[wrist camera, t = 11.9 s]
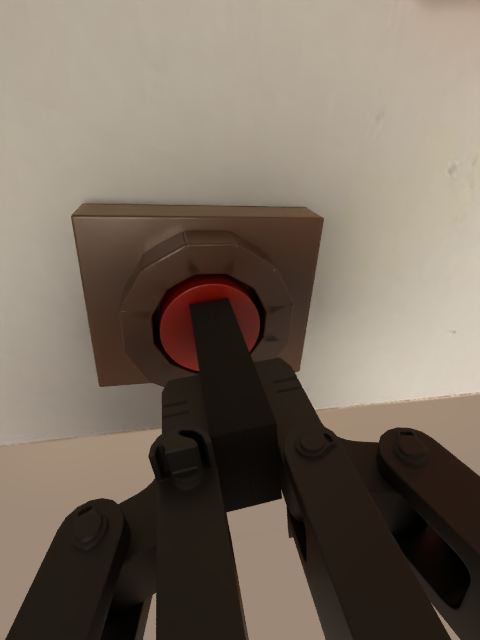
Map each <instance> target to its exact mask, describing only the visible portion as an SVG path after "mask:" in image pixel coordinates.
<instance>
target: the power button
mask: <svg viewBox="0 0 480 640" xmlns="http://www.w3.org/2000/svg"><path fill="white" fill-rule="evenodd" d="M224 298H229V301H230V303H231V306H232V308H233V311H234V313H235V316H236V319H237V321H238V324H239V326H240V329H241V332H242V334H243V337H244V339H245V342H246V345H247V347H248V350H249V352H250V351H251V349H252V348H253V346H254V345H255V343H256V340H257V338H258V335H259V330H260V319H259V314H258V311H257V309H256V306H255V304H254V303H253V301H252V299H251V297H250V295H249V293H248V291H247V289H246V288H245V286H244V285H243V283H242V282H241V281H239V280H237V279H235V278H233V277H231V276H230V275H228V274H196V275H193V276H191V277H189V278H188V279H186V280H184V281H182V282H181V283H179V284H177V285H175V286H173V287H172V288H170V289H168V290H167V291H166V293H165V295H164V296H163V298H162V300H161V303H160V339H161V342H162V345H163V347H164V349H165V351H166V352H167V354H168V355H169V356H170V357H171V358H172V359H173V360H174V361H176V362H177V363H178V364H180V365H182V366H184V367H186V368H189V369H192V370H197V371H199V365H198V359H197V352H196V346H195V340H194V333H193V327H192V320H191V314H190V308H189V305H190V304H196V303H201V302H207V301H213V300H218V299H224Z"/></svg>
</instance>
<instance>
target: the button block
mask: <svg viewBox="0 0 480 640" xmlns="http://www.w3.org/2000/svg"><path fill="white" fill-rule="evenodd" d="M71 219H72V225H73V231H74V237H75V243H76V249H77V255H78V261H79V267H80V273H81V279H82V286H83V292H84V298H85V304H86V310H87V316H88V322H89V328H90V334H91V340H92V346H93V352H94V358H95V364H96V370H97V376H98V382H99V386H100V387H104V386H117V385H130V384H143V383H155V384H158V385H161V386H163V387H165V386H166V384H167V383H168V381H169V380H174V379H179V378H184V377H189V376H194V375H199V374H200V371H197V370H192V369H189V368H186V367H184V366H182V365H180V364H178V363H177V362H176V361H174V360H173V359H172V358H171V357H170V356H169V355H168V354H167V352H166V351H165V349H164V347H163V345H162V342H161V339H160V303H161V300H162V298H163V296H164V295H165V293H166V291H167V290H168V289H170V288H172V287H173V286H175V285H177V284H179V283H181V282H182V281H184V280H186V279H188V278H189V277H191V276H193V275H196V274H228V275H230V276H231V277H233V278H235V279H237V280H239V281H241V282H242V283H243V285H244V286H245V288H246V289H247V291H248V293H249V295H250V297H251V299H252V301H253V303H254V304H255V306H256V309H257V311H258V314H259V319H260V330H259V335H258V338H257V340H256V343H255V345H254V346H253V348H252V349H251V351H250V355H251V358H252V360H253V362H258V361H263V360H268V359H273V358H278V357H280V358H281V359H283V360H284V361H285V362H287V363H288V364H289V365H291V367H292V369H293V370H294V372H298V371H299V370H300V364H301V358H302V352H303V346H304V339H305V333H306V327H307V321H308V315H309V308H310V302H311V296H312V290H313V283H314V277H315V271H316V265H317V259H318V252H319V246H320V240H321V234H322V227H323V221H324V218H323V217H321V216H319V215H318V214H316V213H314V212H312V211H311V210H309V209H307V208H305V207H244V206H183V205H121V204H82V205H81V206H80V207H79V208H78V209H77V210H76V211H75V212H74V213H73V214H72V216H71Z"/></svg>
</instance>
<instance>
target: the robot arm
mask: <svg viewBox="0 0 480 640" xmlns="http://www.w3.org/2000/svg"><path fill="white" fill-rule="evenodd" d="M189 308H190V314H191V320H192V327H193V333H194V340H195V346H196V352H197V359H198V365H199V371H200V374H199V375H194V376H189V377H184V378H179V379H174V380H169V381H168V383H167V384H166V386H165V388H164V390H163V392H162V435H160V436H159V437H158V438H157V439H156V441H155V442H154V443H153V444H152V446H151V448H150V453H149V460H150V463H151V466H152V469H153V471H154V474H155V479H154V481H153V482H152V483H151V484H150V485H149V486H148V487H147V488H146V489H144V490H143V491H141V492H140V493H138V494H137V495H135V496H133V497H131V498H129V499H127V500H125V501H124V502H122V503H120V504H117V503H116V502H114V501H113V500H109V499H103V498H101V499H96V500H91V501H88V502H87V503H85V504H83V505H81V506H79V507H77V508H76V509H75V510H74V511H73V512H72V513H71V514H69V515H68V516H67V517H66V518H65V520H64V521H63V523H62V524H61V526H60V527H59V529H58V530H57V532H56V535H55V537H54V539H53V541H52V543H51V545H50V548H49V549H48V552H47V553H46V556H45V558H44V560H43V562H42V564H41V566H40V568H39V570H38V572H37V574H36V577H35V579H34V581H33V583H32V585H31V587H30V589H29V591H28V593H27V595H26V597H25V600H24V602H23V604H22V606H21V608H20V610H19V612H18V614H17V616H16V618H15V620H14V623H13V625H12V627H11V629H10V631H9V633H8V635H7V637H6V639H5V640H143V636H144V631H145V626H146V622H147V618H148V613H149V608H150V604H151V599H152V595H153V594H155V593H156V640H249V639H248V633H247V627H246V622H245V616H244V610H243V605H242V599H241V593H240V587H239V581H238V575H237V570H236V564H235V558H234V552H233V546H232V540H231V535H230V530H229V525H228V520H227V513H226V512H230V511H234V510H238V509H242V508H245V507H250V506H254V505H258V504H262V503H266V502H270V501H274V500H278V499H281V498H282V493H283V496H284V499H285V502H286V505H287V519H288V533H289V538H291V537H293V538H294V541H295V544H296V547H297V550H298V553H299V557H300V560H301V563H302V566H303V569H304V572H305V575H306V578H307V582H308V585H309V588H310V591H311V594H312V597H313V601H314V604H315V607H316V610H317V613H318V616H319V620H320V622H321V626H322V629H323V632H324V635H325V639H326V640H451V638H450V636H449V635H448V633H447V631H446V629H445V628H444V626H443V624H442V622H441V620H440V619H439V617H438V615H437V613H436V611H435V610H434V608H433V606H434V607H435V608H436V610H437V611H438V612H439V613H440V615H441V616H442V617H443V618H444V620H445V621H446V622H447V623H448V624H449V626H450V627H451V628H452V629H453V631H454V632H455V633H456V635H457V636H458V637H459V638H460V640H480V476H479V475H477V474H476V473H475V472H474V471H472V470H471V469H470V468H469V467H467V466H466V465H465V464H464V463H462V462H461V461H460V460H459V459H457V458H456V457H455V456H454V455H453V454H451V453H450V452H449V451H448V450H447V449H445V448H444V447H442V445H440V444H439V443H438V442H437V441H435V440H434V439H433V438H431V437H429V436H428V435H426V434H425V433H423V432H421V431H418V430H414V429H411V428H394V429H391V430H388V431H387V432H385V433H384V434H383V435H382V436H381V437H380V440H379V443H377V442H358V441H350V440H346V439H343V438H340V437H337V436H336V435H335V434H334V432H333V431H331V430H329V429H327V428H326V427H324V426H323V424H322V423H321V421H320V419H319V417H318V415H317V414H316V412H315V410H314V408H313V406H312V404H311V402H310V400H309V399H308V397H307V395H306V393H305V391H304V389H303V388H302V385H301V384H300V382H299V380H298V379H297V376H296V374H295V372H294V370H293V369H292V367H291V365H289V364H288V363H287V362H285V361H284V360H283V359H281V358H280V357H278V358H273V359H268V360H263V361H258V362H253V360H252V358H251V355H250V352H249V350H248V347H247V345H246V342H245V339H244V337H243V334H242V332H241V329H240V326H239V324H238V321H237V319H236V316H235V313H234V311H233V308H232V306H231V303H230V301H229V298H224V299H218V300H213V301H207V302H201V303H196V304H190V305H189ZM281 490H282V493H281ZM431 603H432V604H431ZM432 605H433V606H432Z"/></svg>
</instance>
